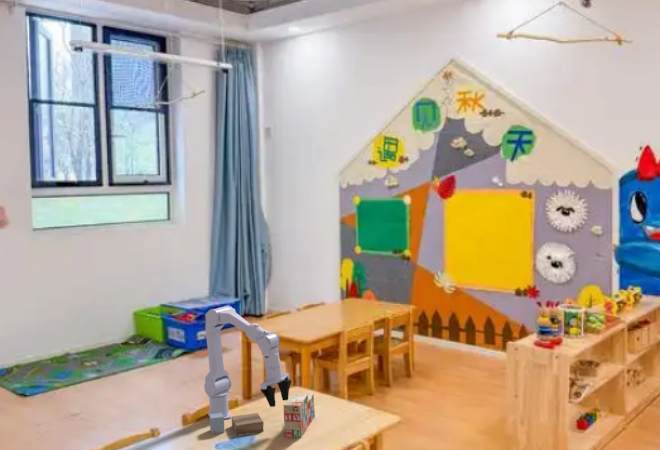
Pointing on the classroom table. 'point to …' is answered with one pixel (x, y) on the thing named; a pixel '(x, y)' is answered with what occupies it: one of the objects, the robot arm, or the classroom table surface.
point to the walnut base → (247, 424)
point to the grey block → (216, 423)
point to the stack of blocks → (298, 414)
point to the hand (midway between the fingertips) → (279, 403)
